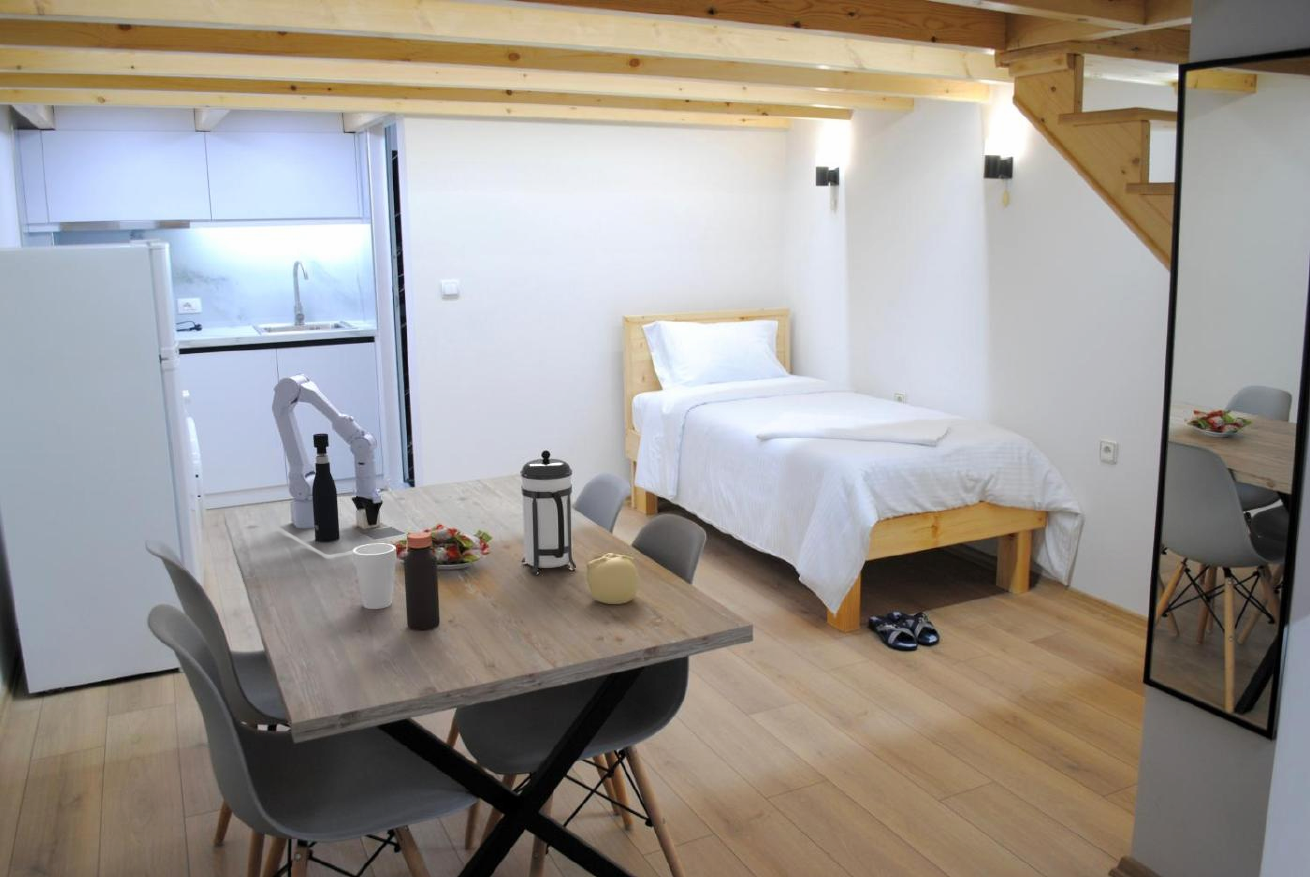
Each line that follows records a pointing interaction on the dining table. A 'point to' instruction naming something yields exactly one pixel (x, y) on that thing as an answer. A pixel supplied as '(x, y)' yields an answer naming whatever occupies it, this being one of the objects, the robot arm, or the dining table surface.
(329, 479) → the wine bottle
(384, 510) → the dining table surface
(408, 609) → the dark brown water bottle
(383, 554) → the foam cup
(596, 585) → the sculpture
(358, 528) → the pin stand
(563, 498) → the coffee press
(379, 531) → the mat
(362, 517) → the white block
